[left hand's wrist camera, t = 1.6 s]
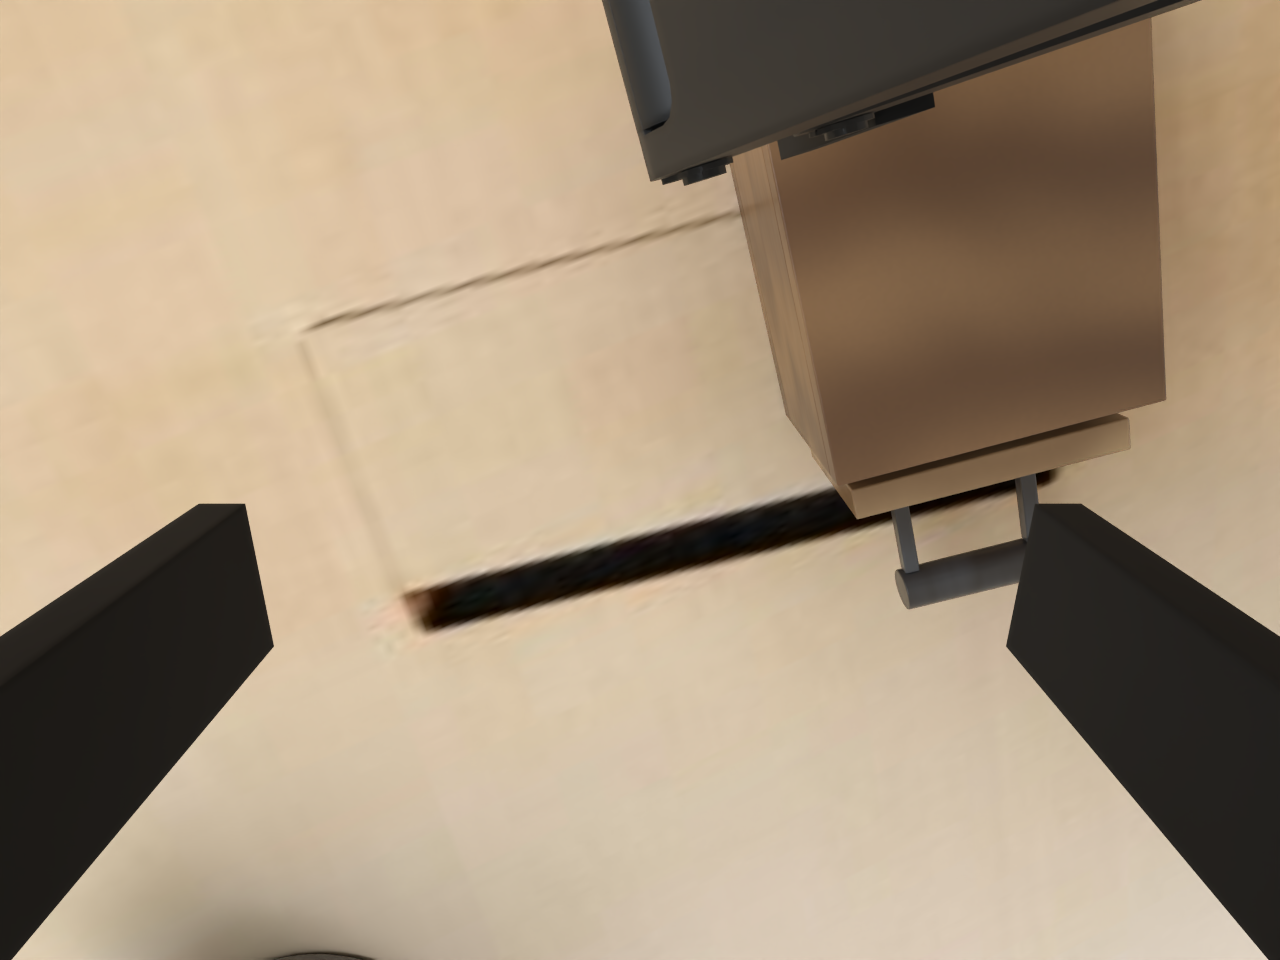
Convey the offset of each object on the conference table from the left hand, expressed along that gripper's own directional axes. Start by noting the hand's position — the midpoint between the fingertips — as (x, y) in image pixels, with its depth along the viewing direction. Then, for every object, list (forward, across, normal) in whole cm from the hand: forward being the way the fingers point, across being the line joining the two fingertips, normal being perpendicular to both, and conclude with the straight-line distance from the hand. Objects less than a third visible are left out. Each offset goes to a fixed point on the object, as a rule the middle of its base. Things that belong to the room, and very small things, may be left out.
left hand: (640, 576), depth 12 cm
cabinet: (+21, -10, -6) cm, 24 cm away
